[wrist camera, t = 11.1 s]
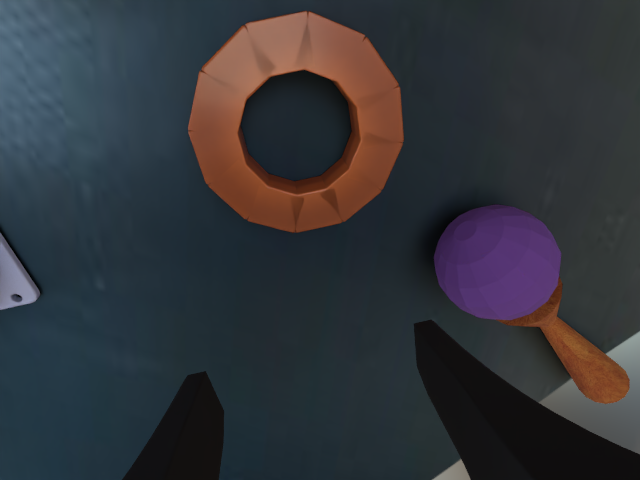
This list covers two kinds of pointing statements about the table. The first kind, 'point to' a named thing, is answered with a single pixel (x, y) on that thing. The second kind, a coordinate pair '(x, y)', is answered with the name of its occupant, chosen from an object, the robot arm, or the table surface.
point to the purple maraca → (520, 288)
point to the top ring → (280, 58)
